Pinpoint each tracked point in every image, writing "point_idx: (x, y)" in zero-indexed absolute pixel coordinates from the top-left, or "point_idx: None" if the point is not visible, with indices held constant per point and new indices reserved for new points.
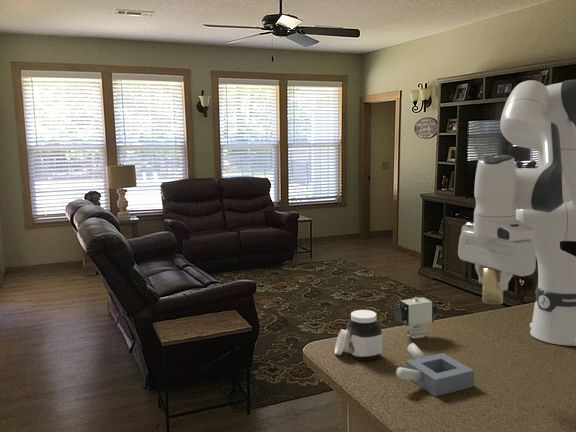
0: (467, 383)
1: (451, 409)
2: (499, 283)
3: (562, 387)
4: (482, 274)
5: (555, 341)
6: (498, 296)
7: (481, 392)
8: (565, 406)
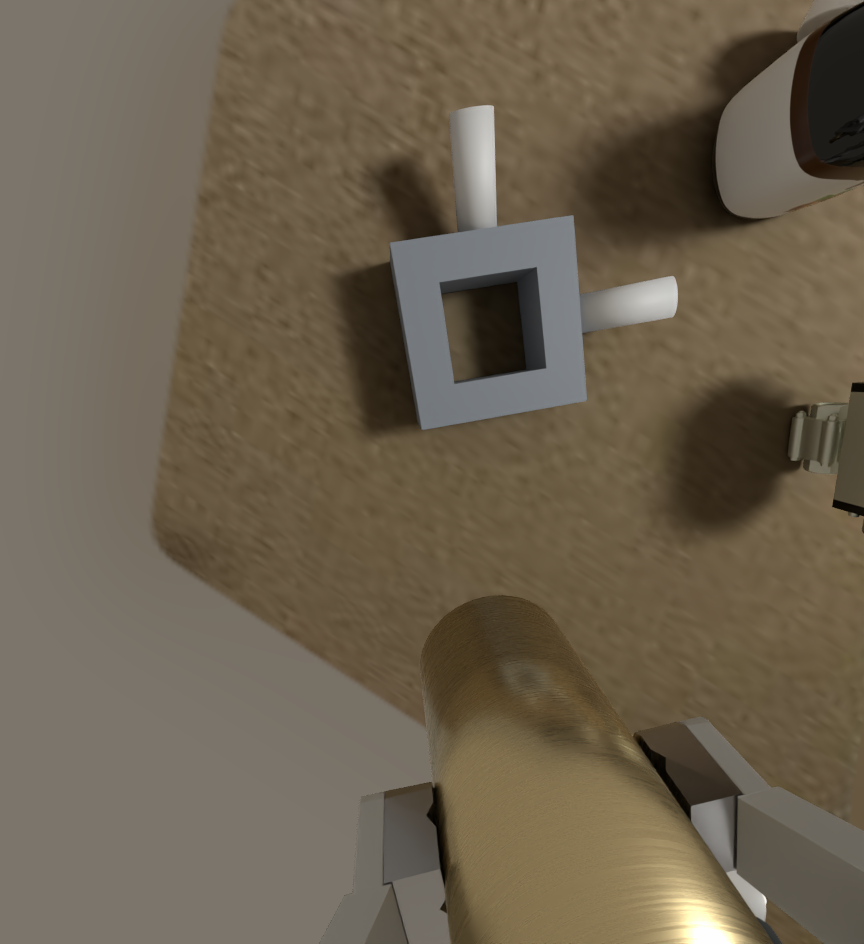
0: (414, 399)
1: (301, 270)
2: (400, 859)
3: (349, 653)
4: (761, 845)
5: None
6: (425, 718)
7: (379, 425)
8: (252, 598)
